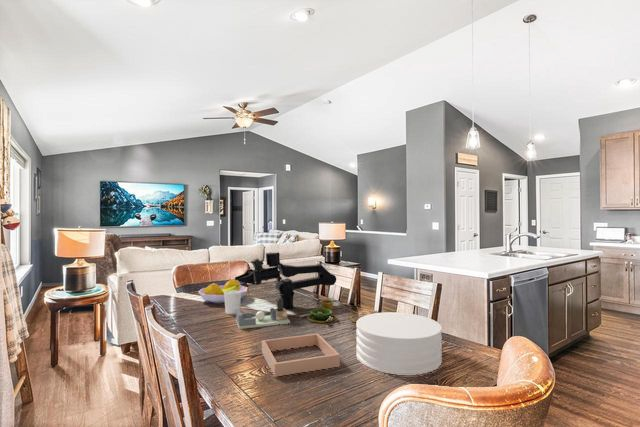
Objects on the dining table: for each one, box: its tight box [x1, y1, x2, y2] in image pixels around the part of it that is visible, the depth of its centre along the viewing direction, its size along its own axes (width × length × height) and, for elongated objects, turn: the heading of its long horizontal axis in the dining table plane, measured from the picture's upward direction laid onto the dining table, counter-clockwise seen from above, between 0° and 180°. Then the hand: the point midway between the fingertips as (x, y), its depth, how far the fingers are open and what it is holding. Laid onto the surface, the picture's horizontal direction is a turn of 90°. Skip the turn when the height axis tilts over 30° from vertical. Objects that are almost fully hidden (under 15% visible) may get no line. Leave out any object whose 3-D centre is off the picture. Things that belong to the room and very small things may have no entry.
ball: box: [255, 310, 266, 320], centre depth 160 cm, size 4×4×4 cm
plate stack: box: [355, 311, 443, 375], centre depth 121 cm, size 28×28×12 cm
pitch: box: [235, 308, 291, 330], centre depth 160 cm, size 22×12×6 cm, turn 110°
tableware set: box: [299, 299, 369, 328], centre depth 161 cm, size 41×28×6 cm
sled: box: [269, 298, 288, 320], centre depth 162 cm, size 6×6×8 cm
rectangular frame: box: [261, 332, 341, 377], centre depth 120 cm, size 21×21×4 cm
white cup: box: [224, 290, 242, 315], centre depth 175 cm, size 8×8×10 cm
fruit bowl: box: [197, 278, 248, 304], centre depth 199 cm, size 28×27×11 cm
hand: (236, 279), depth 174 cm, fingers open, 9 cm apart
